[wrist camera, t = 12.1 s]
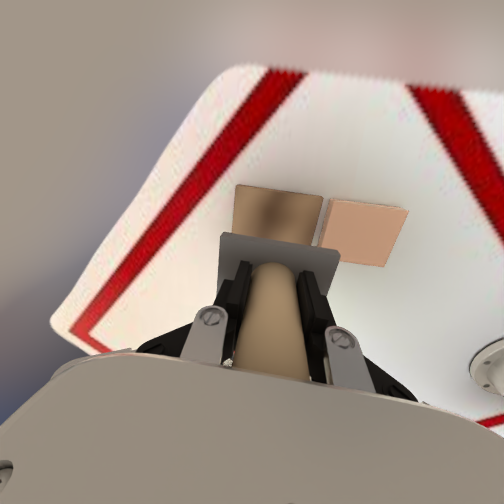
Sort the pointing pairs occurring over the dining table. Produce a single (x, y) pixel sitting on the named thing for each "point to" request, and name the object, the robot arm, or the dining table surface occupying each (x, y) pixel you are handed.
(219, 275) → the float
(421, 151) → the dining table surface
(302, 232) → the board
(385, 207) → the tile
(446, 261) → the dining table surface
